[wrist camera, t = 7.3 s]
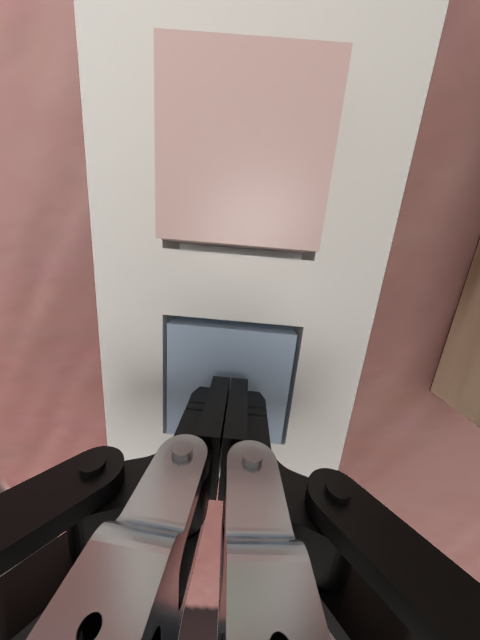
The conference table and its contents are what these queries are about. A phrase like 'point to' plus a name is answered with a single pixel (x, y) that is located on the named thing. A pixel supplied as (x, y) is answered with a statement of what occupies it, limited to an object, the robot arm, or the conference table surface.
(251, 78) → the key rose
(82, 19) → the keypad
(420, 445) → the conference table surface
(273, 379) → the key slate
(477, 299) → the card
